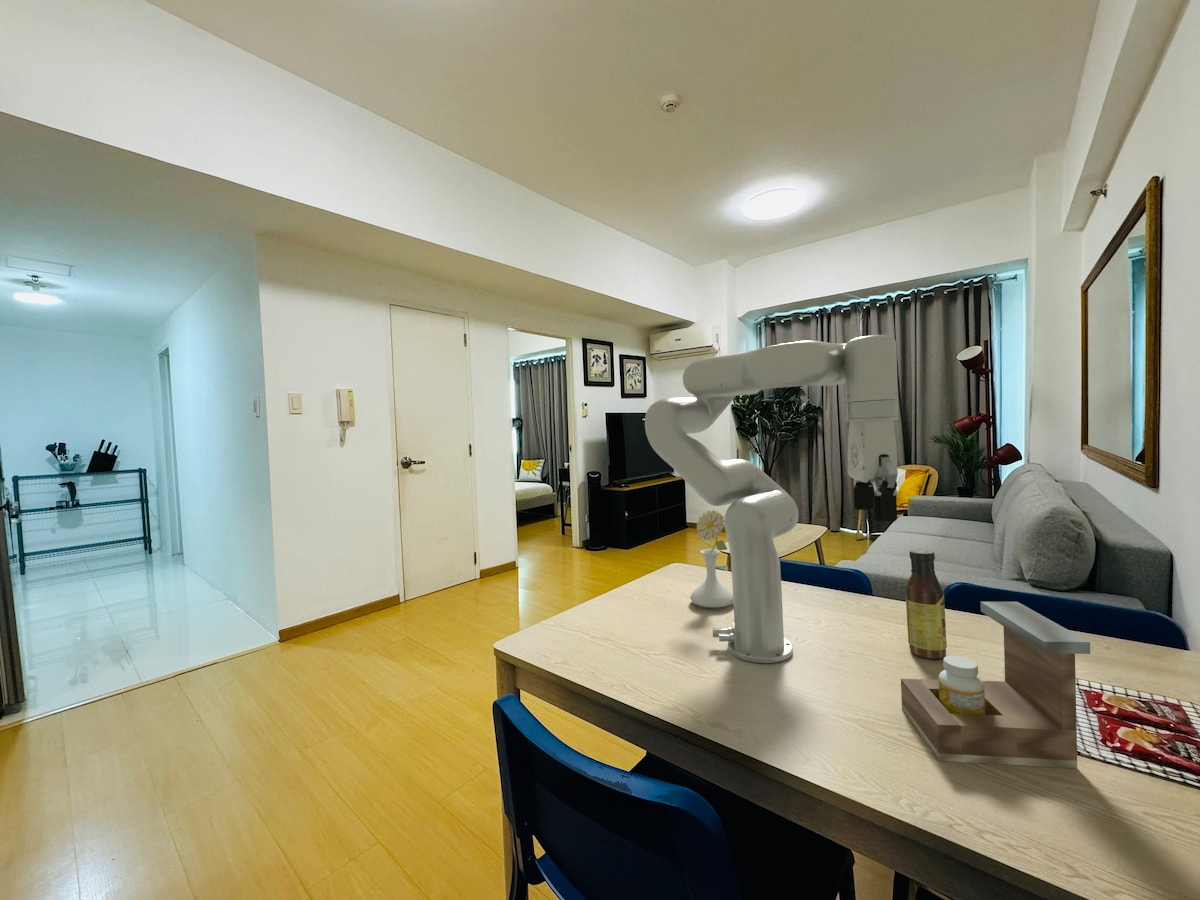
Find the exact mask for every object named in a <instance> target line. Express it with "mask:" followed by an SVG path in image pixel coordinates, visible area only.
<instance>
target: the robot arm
mask: <svg viewBox="0 0 1200 900" xmlns="http://www.w3.org/2000/svg"><path fill="white" fill-rule="evenodd" d="M897 351H898V350H897V341H896V339H895V338H894V337H893V336H891V335H890V334H889V335H888V334H873V335H865V336H859V337H855V338H854V337H853V339H850V340H849V341H847V342H846V343H833V342H827V341H826V342H825V341H818V340H800V341H799V340H798V341H794V342H786V343H779V344H773V345H768V346H764V347H763V346H762V347H759V348H757V349H752V350H748V351H743V352H736V353H731V354H725V355H718V356H711V357H704V358H700V359H697V360H695V361H692V362H691V363H689V365H687V367H686V368H685V369H684V371H683V373H682V384H683V387H684V388H685V390H686V391H687V392H688V393H689V394H690V395H692V396H691V397H690V396H689V397H668V398H667V397H666V398H662V399H659V400H657V401H655V402H654V403H652V404H651V405H650V406H649V408H648V409H647V410H646V413H645V416H644V417H645V418H644V430H645V435H646V437H647V440H648V442H649V445H650V447H651V448H652V449H653V450H654V452H655V453H656V454H657V455H658V456H659V457H660V458H661V459H662V460H663V461H664V462H666V463H667V464H668V466H670V467H671V468H672V469H673V470H674V471H675V472H676V473H677V474H678V475H679V476H680V477H681V479H683V481H685V482H686V484H687V485H689V486H690V488H692V490H693V491H694V492H695V493H696V494H698V496H699V497H700V498H702V500H703V501H705V502H706V503H707V504H709V505H711V506H714V507H721V506H727V505H729V506H728V508H727V509H726V511H725V514H724V519H723V520H724V523H723V524H724V530H725V535H726V539H727V542H728V546H729V547H728V548H729V554H730V555H729V556H730V566H731V567H730V568H731V570H730V571H731V582H732V593H733V603H732V604H733V618H734V620H733V621H732V623H731V624H732V625H731V626H727V627H726V628H725V627H724V628H722V627H712V638H718V639H719V640H718V641H719V642H727V648H728V651H729V652H730V653H731V654H732V655H733V656H734V657H736V658H739V659H740V660H743V661H747V662H750V663H751V662H752V663H758V664H775V663H780V662H784V661H786V660H788V659H789V658H790V657H791V656H792V655H793V653H794V652H793V651H794V650H793V644H792V643H791V642H790V641H789V640H788V639H787V638H785V637H784V636H785V634H784V611H783V592H782V574H781V562H780V558H779V554H778V552H777V548H776V546H775V544H774V539H775V538H777V537H779V536H783V535H785V534H787V533H790V532H791V531H792V530H793V529H794V528H795V527H796V525H797V524H798V523H799V522H798V521H799V509H798V506H797V504H796V502H795V500H794V499H793V498H792V496H791V495H790V494H789V493H788V492H787V491H786V490H785V489H783V487H781V486H780V485H779V484H778V483H776V481H774V480H773V479H772V478H771V477H770V476H769V475H767V474H766V473H765V472H764V471H763V470H762V469H761V468H760V467H758V466H757V465H756V464H754V463H752V462H750V461H748V460H746V459H742V458H733V459H721V458H719V457H717V456H716V455H715V454H714V453H713V452H711V451H710V450H709V449H708V448H707V446H705V445H704V444H703V443H702V442H700V441H698V440H697V439H695V438H693V437H691V436H689V434H697V433H702V432H704V431H706V430H708V429H709V428H711V426H712V425H713V424H714V423H715V422H716V421H717V420H718V418H719V417H720V416H721V415H722V414H723V412H724V411H725V410H726V408H728V407H729V406H730V404H731V403H732V402H733V400H734V399H735V398H736V396H746V395H747V396H748V395H749V396H750V395H756V394H758V393H759V392H760V391H763V390H769V389H779V388H792V387H810V386H811V387H816V386H817V387H819V386H820V387H831V386H839V385H841V384H843V385H844V384H845V385H844V386H845V414H846V415H845V418H846V423H849V427H848V433H847V434H848V436H847V437H848V439H847V475H848V476H849V478H852V479H853V481H852V483H853V484H852V485H853V508H854V510H857V511H858V510H859V511H864V510H865V511H866V510H872V511H873V514H872V515H873V520H874V521H875V522H896V521H897V519H898V515H897V514H898V513H897V512H898V510H897V509H898V507H897V504H898V503H897V497H898V490H897V487H898V485H899V484H898V482H897V479H898V473H899V472H898V450H897V449H898V447H897V439H896V429H895V421H898V420H899V407H898V406H899V405H898V404H899V401H898V398H899V397H898V359H897V358H898V357H897V356H898V355H897ZM880 484H881V485H880Z"/></svg>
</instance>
